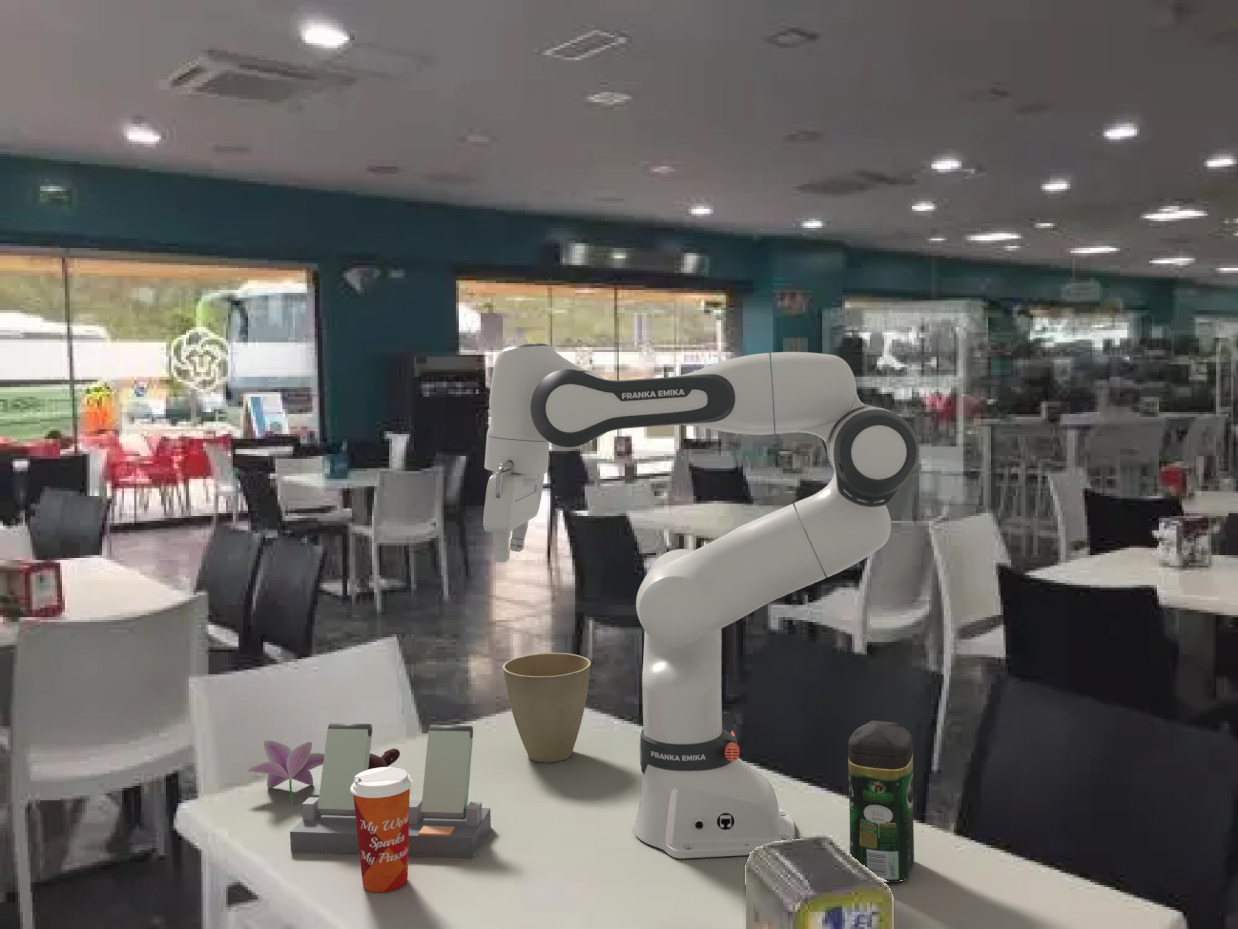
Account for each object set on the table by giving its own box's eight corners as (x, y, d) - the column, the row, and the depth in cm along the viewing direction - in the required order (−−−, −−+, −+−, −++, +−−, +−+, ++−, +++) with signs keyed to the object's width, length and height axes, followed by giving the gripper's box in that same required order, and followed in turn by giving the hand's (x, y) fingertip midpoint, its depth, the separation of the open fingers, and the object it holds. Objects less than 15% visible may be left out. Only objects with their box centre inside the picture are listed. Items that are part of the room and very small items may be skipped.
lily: (348, 796, 170) (339, 736, 173) (308, 793, 159) (300, 729, 163) (281, 816, 172) (273, 756, 175) (237, 815, 161) (231, 751, 165)
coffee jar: (857, 849, 144) (856, 713, 143) (917, 858, 141) (917, 719, 140) (843, 880, 135) (842, 736, 134) (907, 890, 132) (907, 743, 131)
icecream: (355, 776, 158) (418, 753, 171) (318, 757, 161) (383, 735, 174) (345, 820, 158) (408, 793, 172) (308, 800, 162) (373, 775, 175)
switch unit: (490, 827, 154) (489, 792, 153) (472, 858, 144) (471, 820, 143) (320, 822, 157) (318, 787, 157) (290, 851, 147) (289, 814, 147)
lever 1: (362, 816, 151) (373, 724, 156) (357, 816, 149) (368, 723, 154) (322, 815, 152) (333, 724, 157) (316, 814, 150) (328, 722, 155)
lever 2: (466, 820, 149) (473, 726, 154) (462, 819, 148) (470, 725, 152) (424, 818, 150) (433, 726, 155) (420, 818, 148) (429, 724, 153)
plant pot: (505, 743, 190) (502, 655, 188) (589, 739, 191) (586, 651, 190) (505, 774, 175) (502, 678, 174) (596, 768, 176) (594, 673, 175)
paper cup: (360, 902, 132) (355, 791, 131) (349, 876, 139) (345, 771, 138) (422, 889, 135) (418, 780, 134) (409, 864, 142) (405, 761, 141)
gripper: (522, 466, 140) (514, 571, 141) (552, 456, 160) (544, 547, 161) (475, 461, 140) (468, 566, 142) (510, 452, 161) (503, 543, 162)
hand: (509, 556), depth 151 cm, fingers open, 8 cm apart
